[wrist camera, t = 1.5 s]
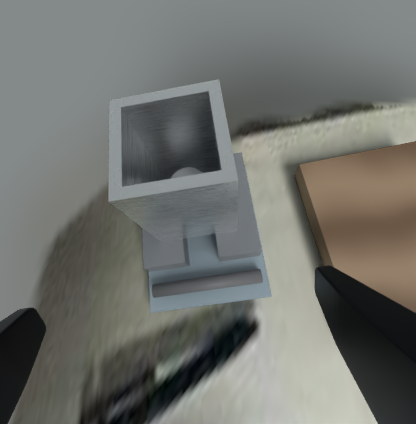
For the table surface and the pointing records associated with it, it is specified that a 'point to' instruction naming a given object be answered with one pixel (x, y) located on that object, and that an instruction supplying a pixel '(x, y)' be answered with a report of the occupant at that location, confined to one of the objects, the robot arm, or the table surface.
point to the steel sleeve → (173, 162)
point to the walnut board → (366, 217)
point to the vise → (208, 260)
